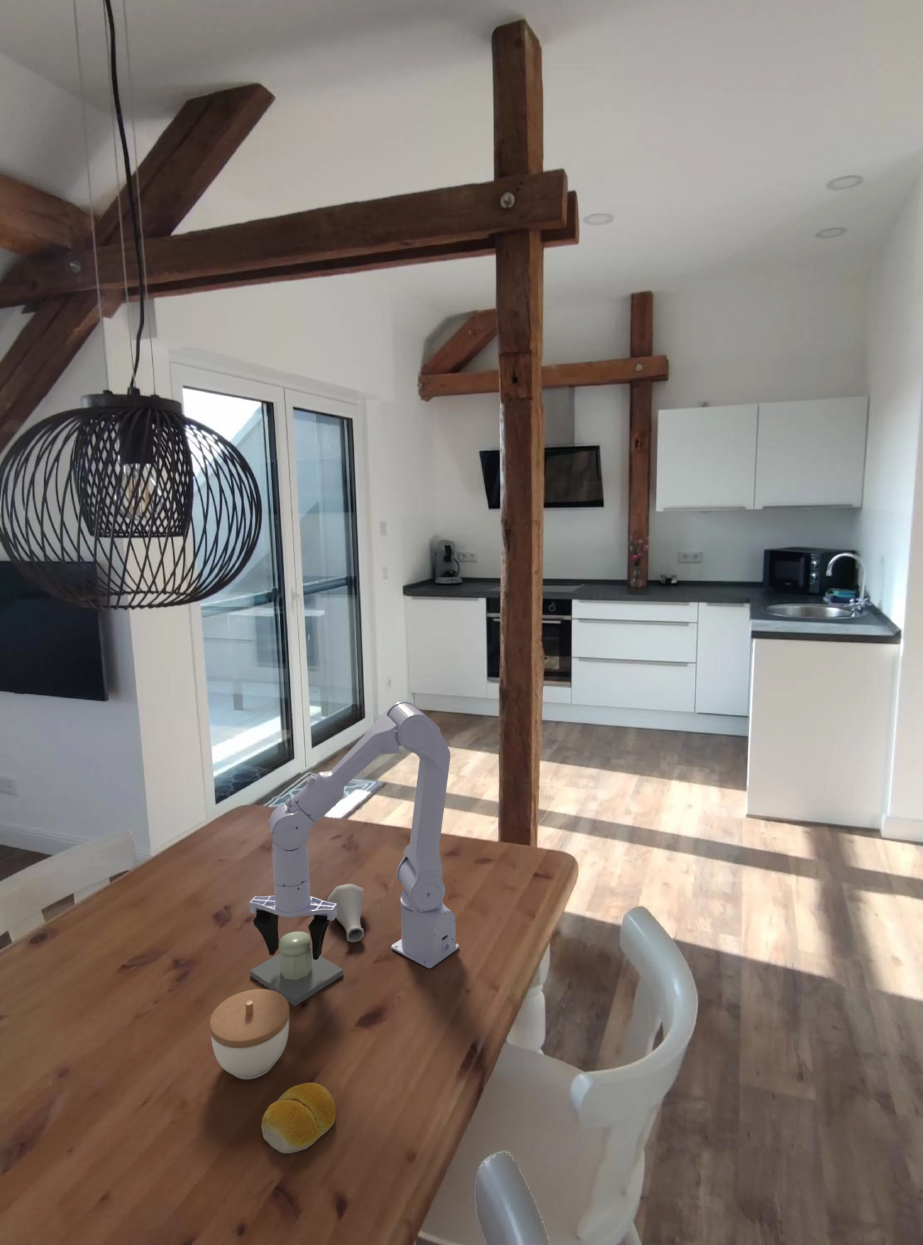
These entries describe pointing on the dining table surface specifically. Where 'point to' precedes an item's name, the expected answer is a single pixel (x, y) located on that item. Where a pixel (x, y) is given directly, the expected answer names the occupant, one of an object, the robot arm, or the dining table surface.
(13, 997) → the dining table surface
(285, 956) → the cap
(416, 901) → the robot arm
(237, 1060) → the lidded jar
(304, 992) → the mat
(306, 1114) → the bread roll
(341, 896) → the flask
